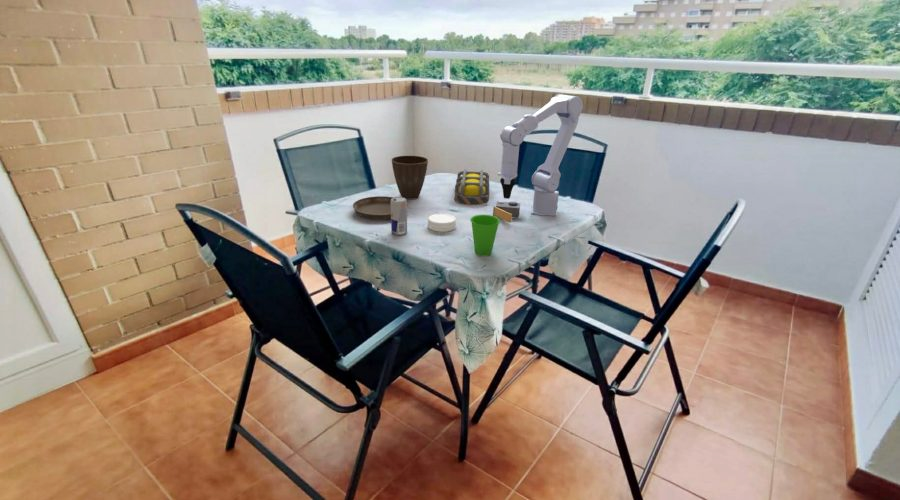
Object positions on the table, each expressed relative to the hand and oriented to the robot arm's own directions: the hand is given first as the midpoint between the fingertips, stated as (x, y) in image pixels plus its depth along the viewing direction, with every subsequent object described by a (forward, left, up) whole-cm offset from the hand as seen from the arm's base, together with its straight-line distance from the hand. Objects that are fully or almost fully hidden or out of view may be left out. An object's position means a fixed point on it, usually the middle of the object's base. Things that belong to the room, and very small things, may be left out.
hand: (506, 198), depth 160 cm
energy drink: (+34, +23, -8) cm, 42 cm away
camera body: (-1, -5, -8) cm, 9 cm away
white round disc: (+21, +14, -9) cm, 27 cm away
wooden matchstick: (+1, +2, -7) cm, 8 cm away
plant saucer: (+47, +5, -9) cm, 48 cm away
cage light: (+16, -27, -9) cm, 33 cm away
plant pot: (+41, -16, -8) cm, 45 cm away
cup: (+4, +32, -8) cm, 33 cm away
